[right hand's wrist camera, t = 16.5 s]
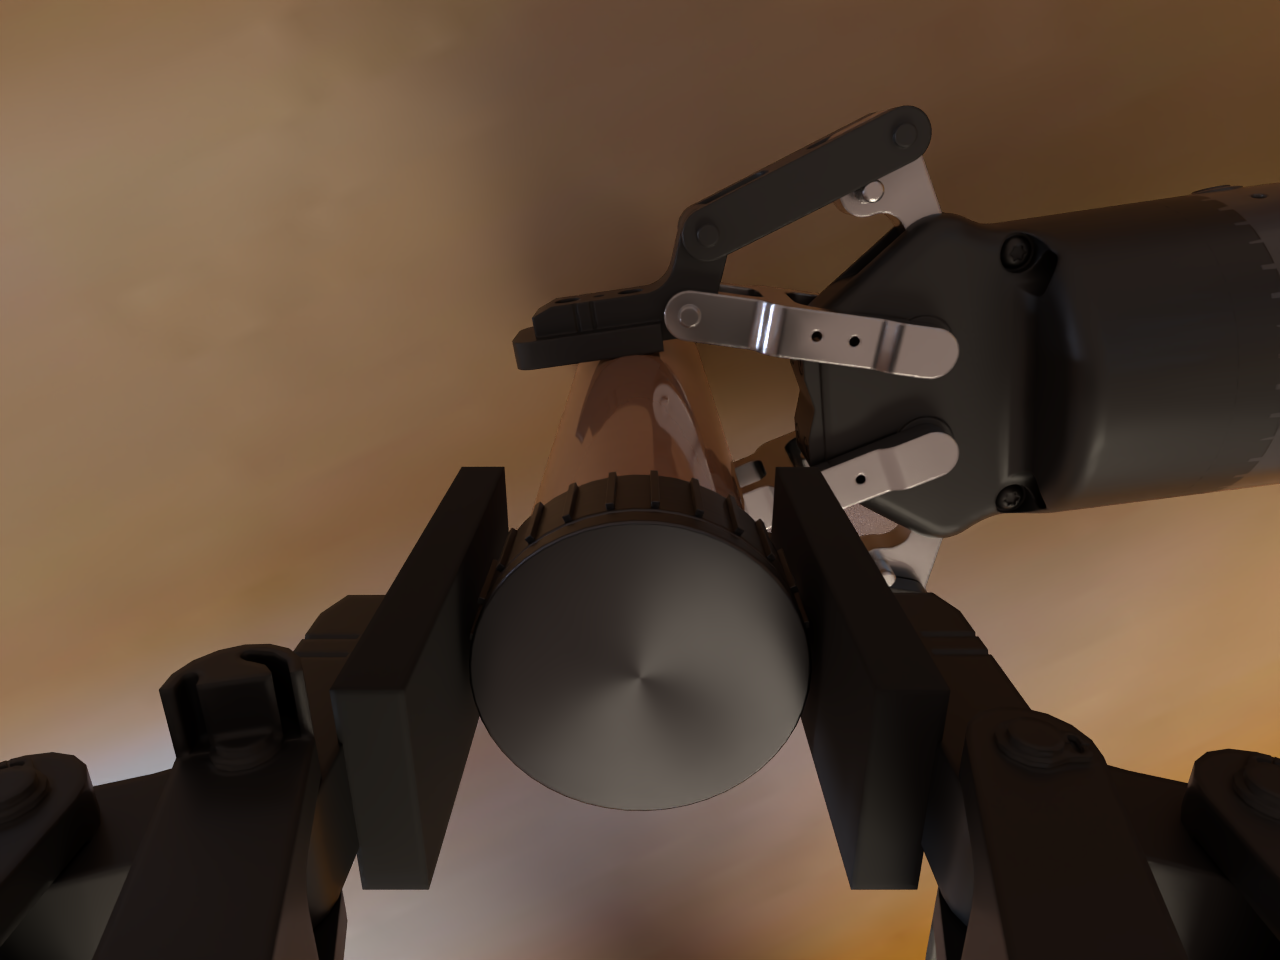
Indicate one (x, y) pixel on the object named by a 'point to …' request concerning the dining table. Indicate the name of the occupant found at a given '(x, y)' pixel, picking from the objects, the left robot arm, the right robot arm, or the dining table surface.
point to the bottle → (641, 424)
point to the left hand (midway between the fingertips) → (539, 435)
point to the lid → (640, 644)
